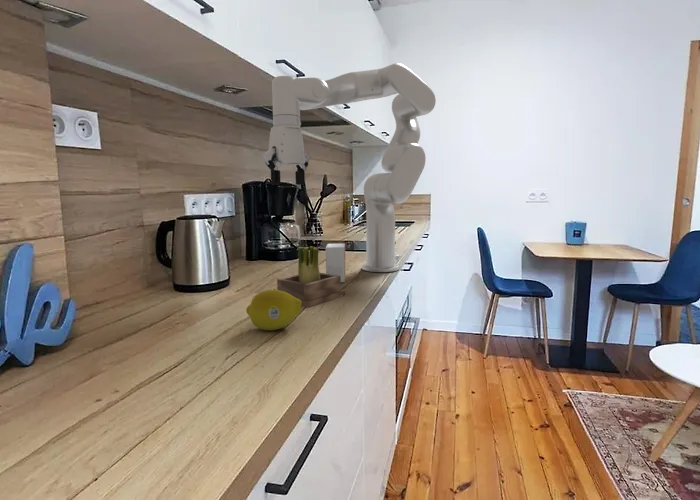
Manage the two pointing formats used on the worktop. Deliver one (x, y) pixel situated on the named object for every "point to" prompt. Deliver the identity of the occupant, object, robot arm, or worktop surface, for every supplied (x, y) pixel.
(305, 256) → the fennel bulb
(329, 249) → the small box
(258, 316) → the lemon
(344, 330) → the worktop surface
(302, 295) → the open wooden box
